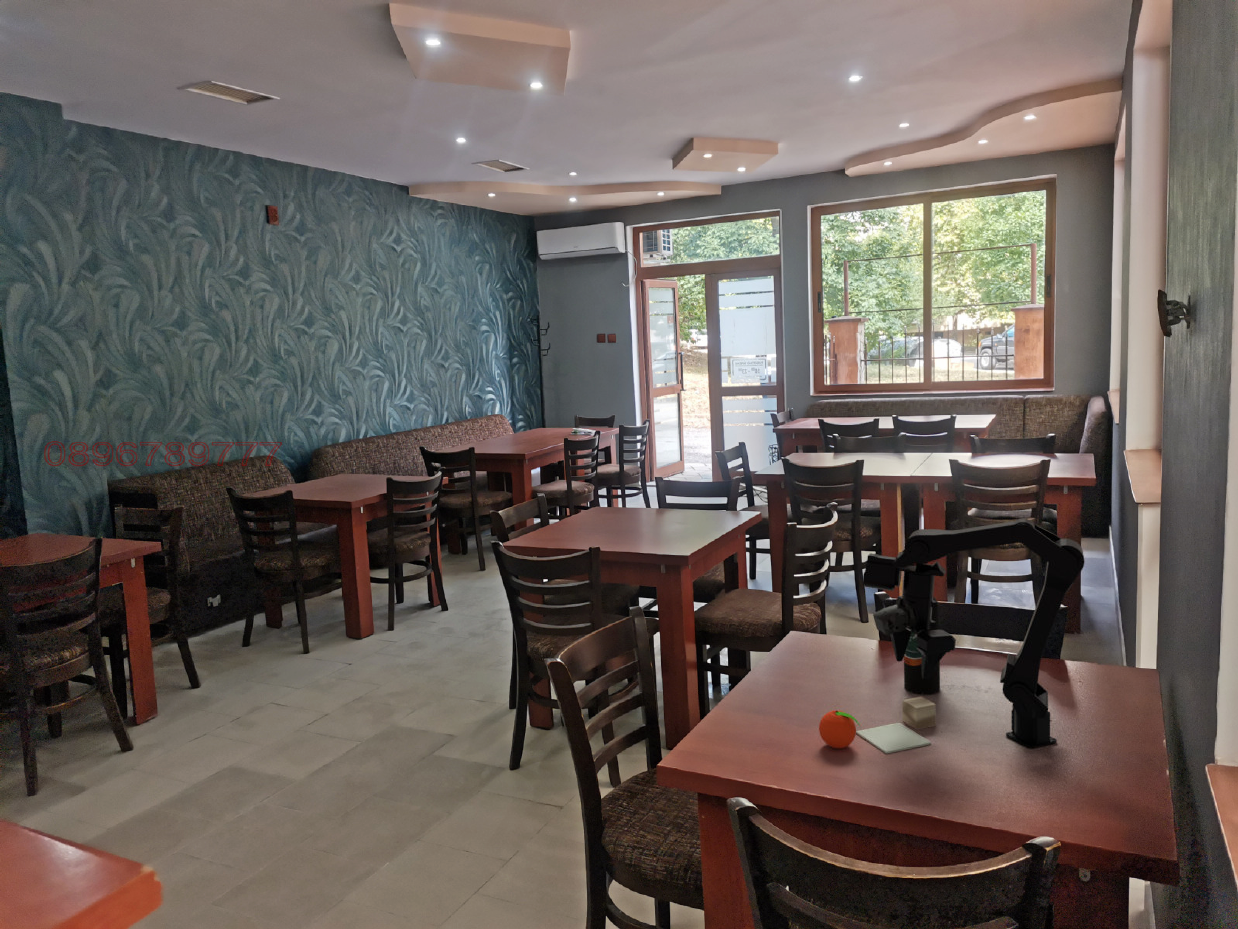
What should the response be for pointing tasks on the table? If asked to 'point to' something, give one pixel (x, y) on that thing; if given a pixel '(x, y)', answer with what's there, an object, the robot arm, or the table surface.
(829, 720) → the clementine
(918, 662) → the wine bottle
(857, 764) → the table surface
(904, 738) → the pad
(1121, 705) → the table surface
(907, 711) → the sandy foam cube
